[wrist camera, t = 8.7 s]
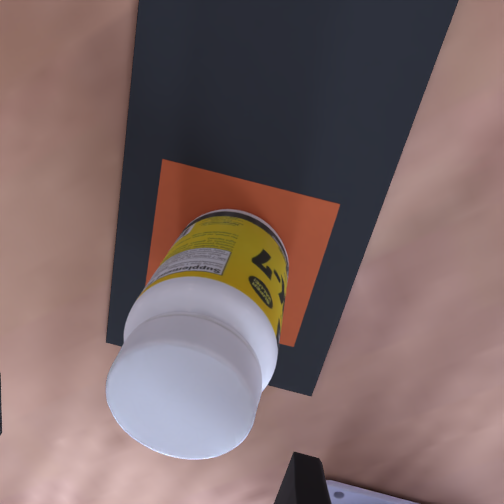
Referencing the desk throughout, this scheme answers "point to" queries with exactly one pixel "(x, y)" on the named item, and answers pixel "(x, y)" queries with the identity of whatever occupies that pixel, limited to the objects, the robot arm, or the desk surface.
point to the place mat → (271, 141)
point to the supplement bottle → (202, 338)
